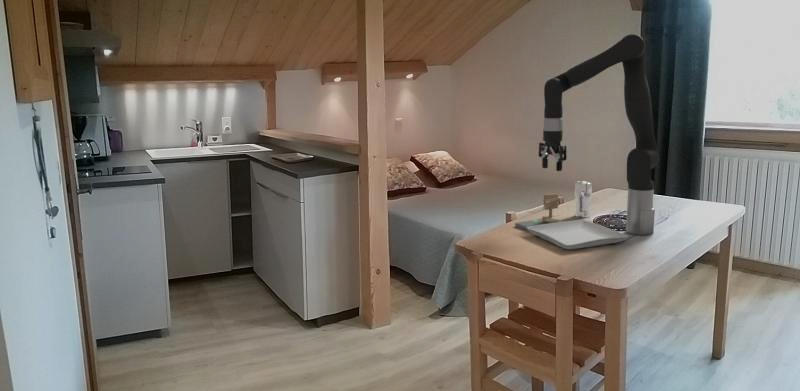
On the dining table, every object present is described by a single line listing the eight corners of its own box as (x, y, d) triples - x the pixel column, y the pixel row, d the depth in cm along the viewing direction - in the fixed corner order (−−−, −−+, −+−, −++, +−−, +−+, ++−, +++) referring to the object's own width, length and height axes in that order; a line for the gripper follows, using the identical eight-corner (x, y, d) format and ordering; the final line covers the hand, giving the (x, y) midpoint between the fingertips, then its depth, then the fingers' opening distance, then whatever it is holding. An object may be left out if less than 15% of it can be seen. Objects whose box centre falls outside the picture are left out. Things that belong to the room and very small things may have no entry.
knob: (561, 222, 255) (562, 194, 253) (539, 225, 251) (540, 197, 248) (551, 218, 261) (552, 191, 259) (529, 222, 256) (530, 195, 254)
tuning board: (570, 227, 254) (570, 223, 254) (534, 233, 246) (534, 229, 246) (549, 220, 265) (549, 217, 265) (515, 226, 257) (515, 222, 257)
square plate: (524, 235, 245) (524, 226, 244) (583, 227, 254) (583, 218, 253) (566, 254, 220) (566, 243, 219) (629, 245, 229) (630, 234, 228)
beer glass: (588, 214, 274) (590, 180, 271) (592, 218, 268) (593, 183, 265) (572, 214, 275) (573, 180, 272) (575, 217, 268) (576, 183, 265)
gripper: (572, 130, 245) (571, 171, 248) (548, 127, 257) (547, 166, 261) (557, 131, 242) (556, 172, 245) (534, 128, 254) (533, 168, 257)
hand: (551, 169), depth 253 cm, fingers open, 8 cm apart
